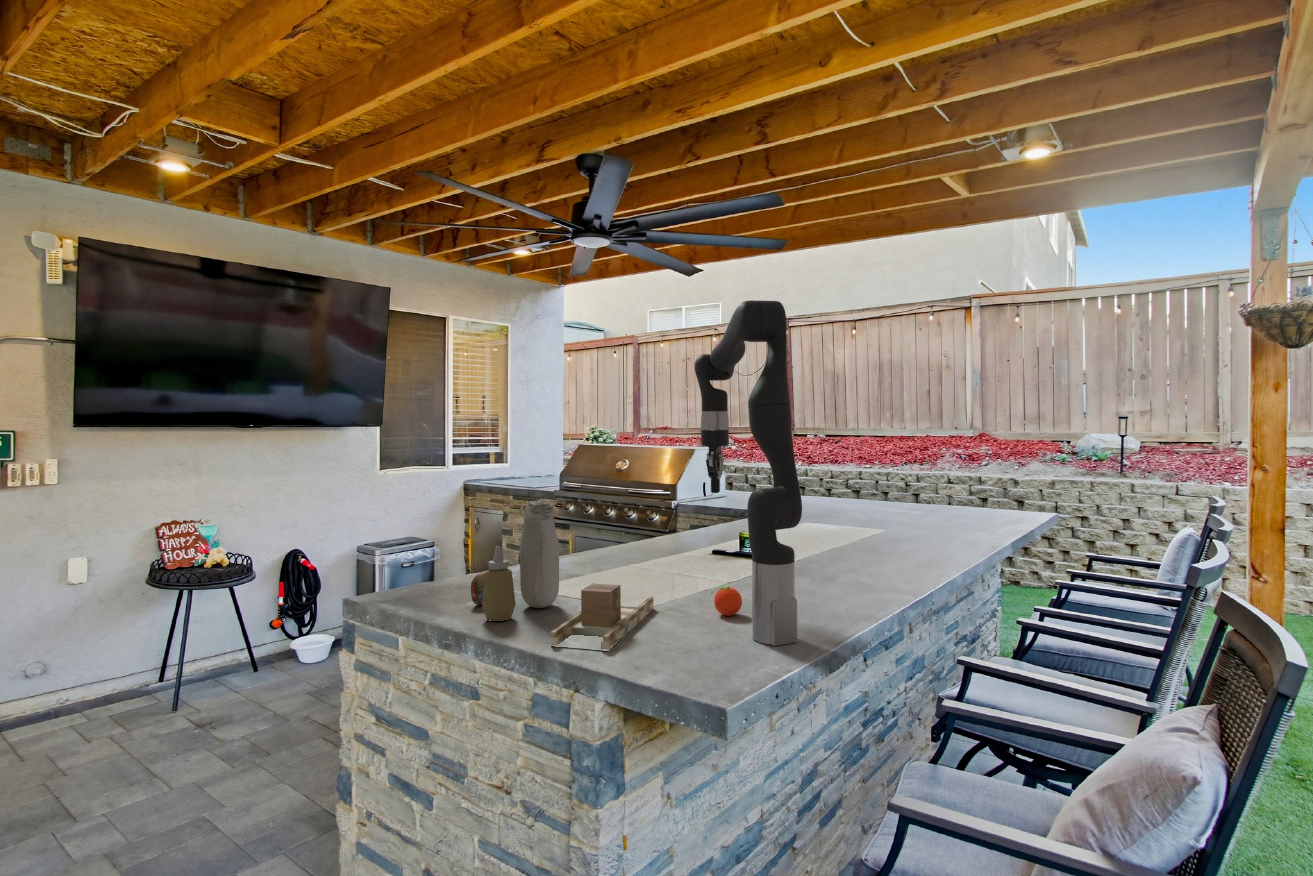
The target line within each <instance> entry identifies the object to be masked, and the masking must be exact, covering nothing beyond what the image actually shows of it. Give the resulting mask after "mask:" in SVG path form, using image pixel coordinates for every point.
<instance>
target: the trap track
mask: <svg viewBox="0 0 1313 876" xmlns="http://www.w3.org/2000/svg"><path fill="white" fill-rule="evenodd" d="M625 606H626V605H625ZM625 606H624V605H621V619H620V620H619V621H618V622H617V623H615V624H614V625H613V626H612V627H611V628H609V627H596V626H584V625H582V620H581V610H580V611H579V612H577V613H576V614H574V615H573V616H572V617H570V618H569V619H568V620H566V621H565V622H563V623H562V624H560V625H559V626H557V627H556V628H555V629H552V630H551V631H550V646H551V645H558V644H560V643H561V642H563V641H564V640H565V639H566V638H568V637H569V636H571V635H584V636H598V637H603V640H602V641H601V649H609V648H610V647H611V646H612V645H614V644H615V643H616V642H618V640H620V639H621V638H622V637H623V636H624V635H625V636H627V634H628V631H630V630H631V629H632V628H633V629H634V628H635V627H636V626H637V625H638V624H639V623H640V622H641V621H642V620H644V617H645V618H646V617H647V616H648V615H649V614H651V612H652V611H653V610H654V596H649V597H647V598H646V599H645V600H643V602H641V603H640V604H639V605H638V606H627V607H625ZM646 615H647V616H646ZM634 626H635V627H634ZM633 629H632V630H633ZM632 630H631V631H632ZM631 631H630V632H631ZM626 633H627V634H626ZM625 636H624V637H625ZM624 637H623V638H624ZM623 638H622V639H623ZM622 639H621V640H622ZM621 640H620V641H621ZM618 643H619V642H618Z"/></svg>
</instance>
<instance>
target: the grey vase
mask: <svg viewBox="0 0 1313 876" xmlns="http://www.w3.org/2000/svg"><path fill="white" fill-rule="evenodd" d="M555 525H556V524H555V520H554V510H553V507H552V505H551V504H550V503H549V502H548V501H546V500H540V499H536V500H535V499H534V500H532V501H530V502H529V503H528V504H527V505H526V506H525V509H524V516H523V525H522V526H523V527H522V532H521V536H520V542H519V574H520V576H519V578H520V579H519V580H520V582H519V583H520V585H519V586H520V593H521V597H522V599H523V602H525V604H527V606H529V607H531V608H533V609H544V608H547V607H550V606H552V604H554V603H555V601H556V600H557V597H558V595H559V591H560V590H559V589H560V546H559V540H558V534H557V530H556V526H555Z"/></svg>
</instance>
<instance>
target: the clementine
mask: <svg viewBox="0 0 1313 876" xmlns="http://www.w3.org/2000/svg"><path fill="white" fill-rule="evenodd" d="M715 590H718V591H717V592H716V593H715V596H714V599H713V602H714V603H713V604H714V607H715V609H716V610H717V612H718V613H719V614H721V615H723V616H727V617H729V616H734V615H736V614H738V613H739V611H740V610H741V609H742V605H743V599H742V596H741V593H740V592H739V591H738V590H737V589H736V588H734V587H730V586H721V587H717V588H715V589H714V591H715ZM714 591H712V592H711V595H710V596H712V594H713V593H714Z"/></svg>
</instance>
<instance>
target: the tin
mask: <svg viewBox="0 0 1313 876" xmlns="http://www.w3.org/2000/svg"><path fill="white" fill-rule="evenodd" d="M486 571H487V570H486ZM486 571H482V572H480V573H479V574H476V575H475V576H474V577H473V578H472V580H471V582H470V595H471V600H472V602H473V604H475V605H477V606H482V601H483V590H484V578H485V572H486Z"/></svg>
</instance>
